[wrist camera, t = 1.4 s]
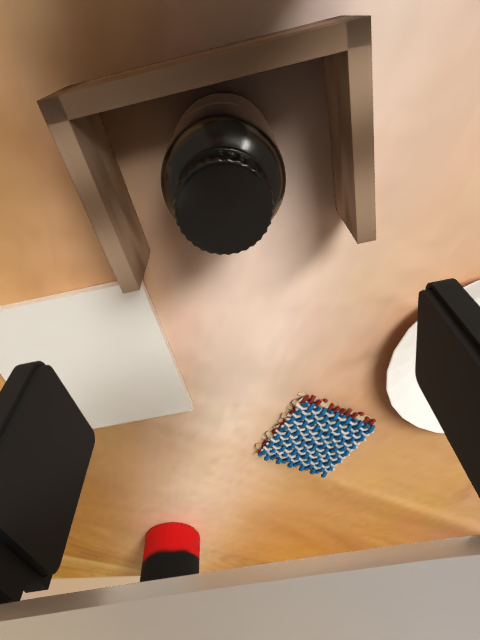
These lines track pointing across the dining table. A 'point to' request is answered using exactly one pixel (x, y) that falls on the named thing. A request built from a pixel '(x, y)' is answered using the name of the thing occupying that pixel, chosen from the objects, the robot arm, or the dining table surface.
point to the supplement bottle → (223, 174)
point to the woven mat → (315, 435)
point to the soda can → (170, 552)
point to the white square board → (98, 352)
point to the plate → (413, 378)
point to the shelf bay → (205, 69)
